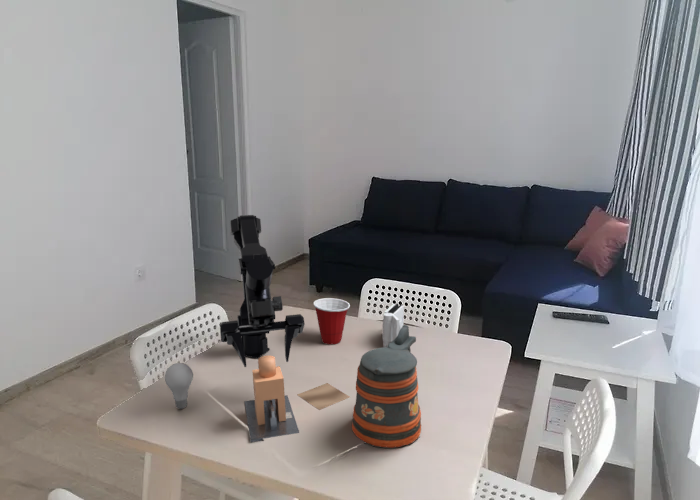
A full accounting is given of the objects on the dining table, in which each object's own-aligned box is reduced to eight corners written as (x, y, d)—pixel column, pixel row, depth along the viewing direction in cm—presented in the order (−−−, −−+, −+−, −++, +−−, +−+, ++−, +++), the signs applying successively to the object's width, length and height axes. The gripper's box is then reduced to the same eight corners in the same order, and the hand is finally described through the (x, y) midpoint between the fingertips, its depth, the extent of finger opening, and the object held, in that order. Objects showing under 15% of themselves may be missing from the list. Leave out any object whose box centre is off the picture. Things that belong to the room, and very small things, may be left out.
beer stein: (372, 396, 125) (373, 317, 120) (433, 408, 120) (436, 325, 115) (341, 439, 108) (340, 349, 103) (410, 456, 103) (412, 361, 98)
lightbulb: (170, 418, 116) (165, 372, 114) (165, 405, 122) (161, 361, 119) (198, 411, 119) (194, 366, 116) (192, 399, 124) (189, 356, 122)
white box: (399, 353, 148) (399, 320, 146) (380, 352, 149) (380, 319, 147) (404, 334, 162) (404, 303, 159) (386, 333, 163) (386, 302, 160)
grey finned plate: (244, 403, 122) (243, 383, 121) (287, 397, 125) (286, 377, 124) (250, 442, 107) (249, 420, 106) (299, 434, 110) (298, 412, 109)
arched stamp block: (255, 410, 118) (251, 355, 115) (282, 406, 119) (278, 351, 116) (258, 425, 112) (253, 367, 109) (286, 420, 114) (282, 363, 111)
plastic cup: (350, 348, 152) (349, 309, 149) (312, 348, 152) (311, 309, 149) (350, 333, 163) (350, 296, 160) (315, 333, 163) (314, 296, 160)
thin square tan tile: (297, 396, 125) (296, 394, 125) (327, 384, 131) (327, 382, 131) (319, 411, 118) (319, 409, 118) (350, 398, 124) (350, 396, 124)
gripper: (217, 288, 115) (222, 356, 107) (302, 280, 120) (312, 345, 112) (218, 309, 124) (223, 373, 116) (296, 302, 129) (306, 363, 121)
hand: (266, 363), depth 116 cm, fingers open, 9 cm apart
